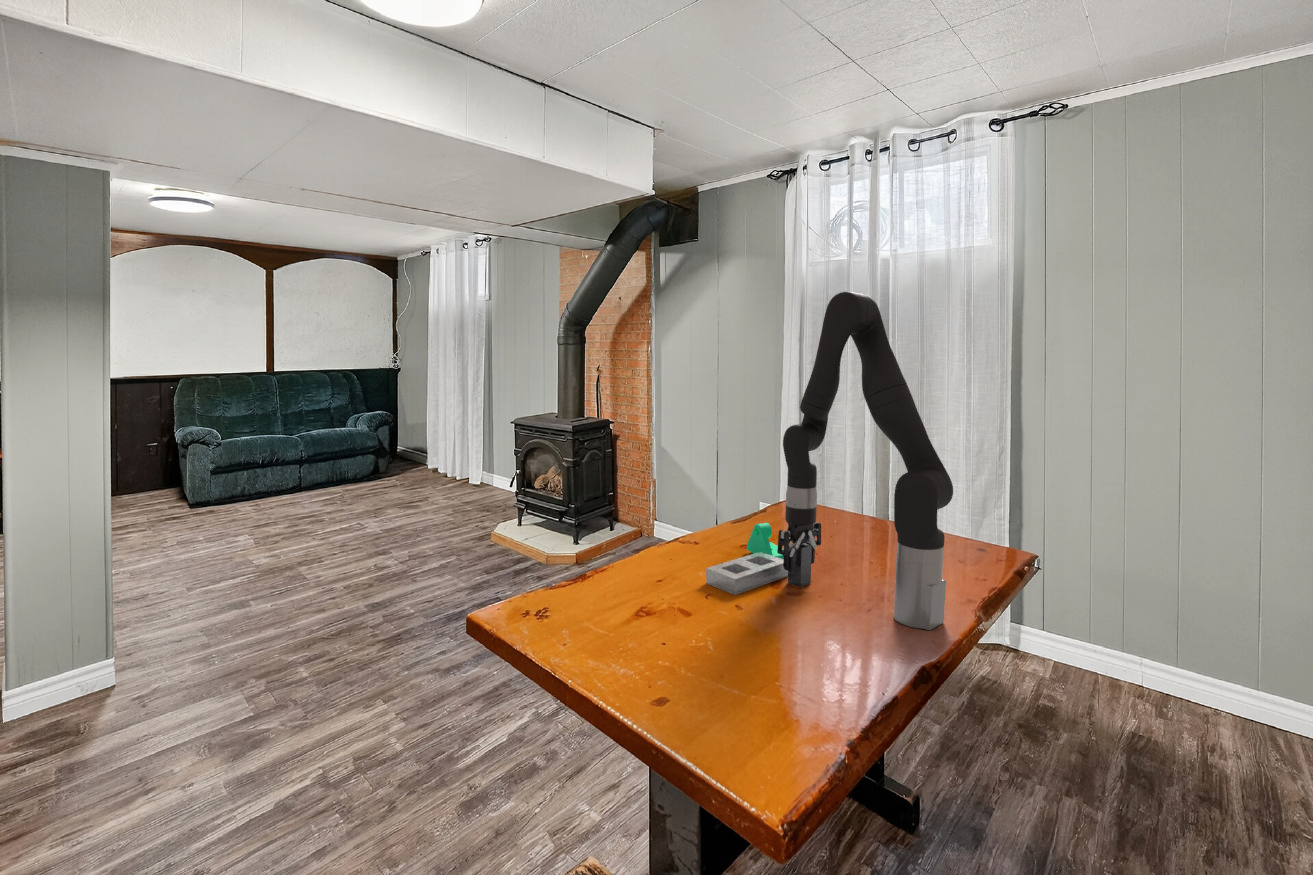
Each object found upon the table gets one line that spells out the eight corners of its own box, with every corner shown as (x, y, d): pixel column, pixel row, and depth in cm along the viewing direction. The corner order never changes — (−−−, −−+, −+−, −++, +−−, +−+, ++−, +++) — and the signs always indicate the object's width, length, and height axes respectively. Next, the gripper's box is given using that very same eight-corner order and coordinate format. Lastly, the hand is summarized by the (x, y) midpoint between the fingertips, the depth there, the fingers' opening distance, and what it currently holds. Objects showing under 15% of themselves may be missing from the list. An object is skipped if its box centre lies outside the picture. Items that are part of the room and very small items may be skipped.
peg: (810, 583, 158) (811, 545, 156) (800, 587, 155) (801, 548, 154) (797, 579, 161) (798, 541, 159) (787, 582, 158) (788, 544, 157)
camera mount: (792, 563, 174) (793, 527, 172) (768, 566, 171) (768, 529, 170) (769, 550, 185) (770, 516, 183) (746, 553, 182) (747, 518, 181)
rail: (788, 575, 163) (788, 561, 162) (734, 595, 151) (735, 579, 150) (759, 565, 171) (759, 551, 170) (706, 583, 158) (706, 568, 158)
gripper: (794, 511, 148) (792, 577, 150) (831, 502, 157) (828, 564, 159) (770, 505, 154) (768, 568, 156) (806, 496, 162) (804, 556, 165)
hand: (799, 566), depth 157 cm, fingers open, 8 cm apart
